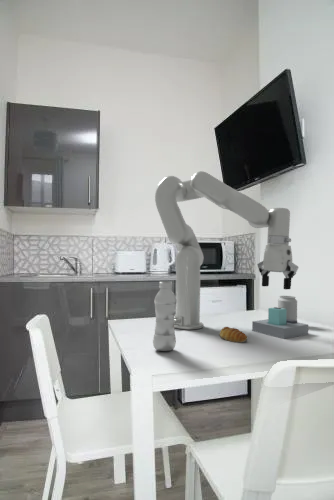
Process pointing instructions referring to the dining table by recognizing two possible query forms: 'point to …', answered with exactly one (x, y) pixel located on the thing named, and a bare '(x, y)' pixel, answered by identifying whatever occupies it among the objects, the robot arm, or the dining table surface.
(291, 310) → the can
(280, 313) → the block
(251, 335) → the dining table surface
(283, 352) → the dining table surface
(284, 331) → the grey recessed tray
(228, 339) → the pastry
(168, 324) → the plastic bottle
